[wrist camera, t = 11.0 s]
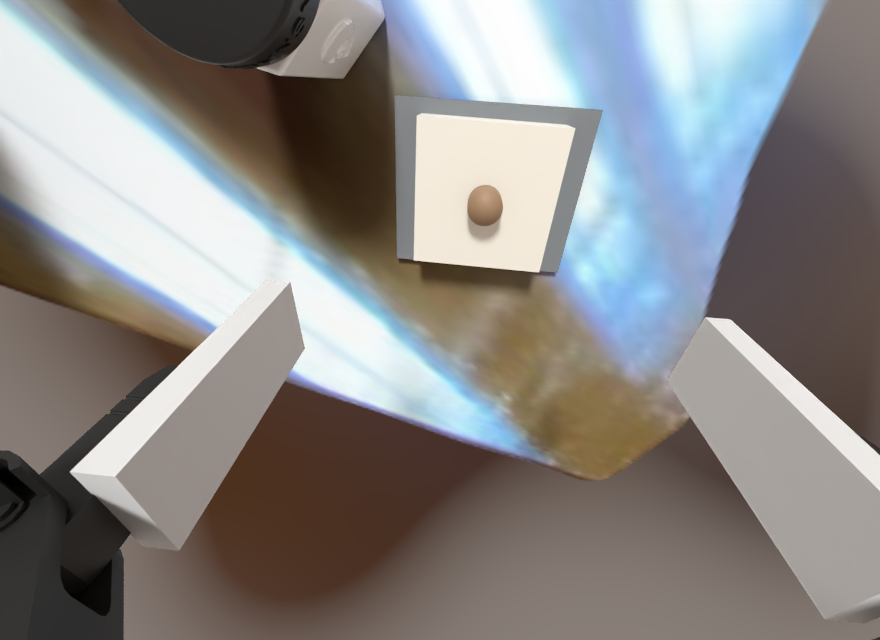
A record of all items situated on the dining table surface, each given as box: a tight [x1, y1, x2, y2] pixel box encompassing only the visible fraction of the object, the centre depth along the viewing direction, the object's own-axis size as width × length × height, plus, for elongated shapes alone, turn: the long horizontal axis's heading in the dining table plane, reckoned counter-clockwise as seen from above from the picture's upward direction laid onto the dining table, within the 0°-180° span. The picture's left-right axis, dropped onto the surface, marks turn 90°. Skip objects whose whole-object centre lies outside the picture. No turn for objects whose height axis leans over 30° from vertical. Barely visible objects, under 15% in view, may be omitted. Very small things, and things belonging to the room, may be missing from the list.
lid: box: [414, 113, 575, 272], centre depth 25 cm, size 10×10×4 cm
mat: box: [395, 95, 603, 272], centre depth 27 cm, size 14×12×1 cm
